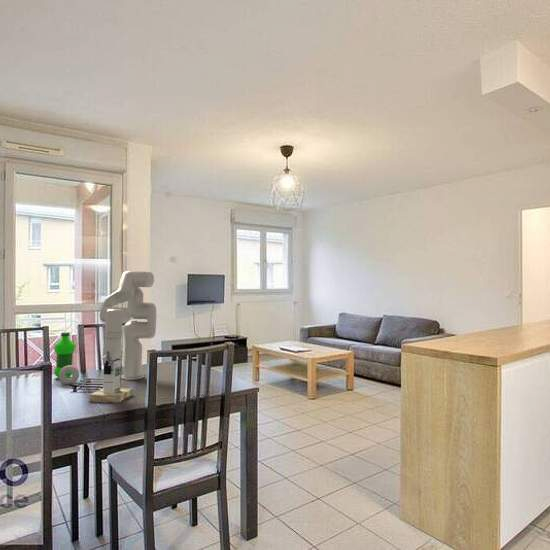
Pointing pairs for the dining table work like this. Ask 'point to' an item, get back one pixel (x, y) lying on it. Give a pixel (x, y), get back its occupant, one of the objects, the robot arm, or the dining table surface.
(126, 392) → the beech base
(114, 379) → the syrup box
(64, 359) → the plastic bottle
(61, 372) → the donut
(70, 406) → the dining table surface
